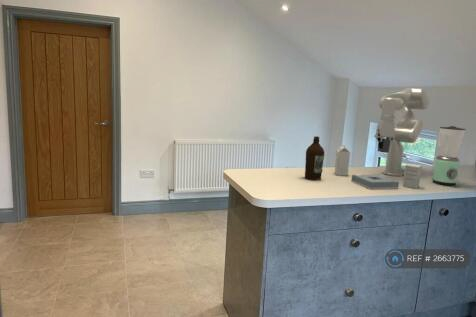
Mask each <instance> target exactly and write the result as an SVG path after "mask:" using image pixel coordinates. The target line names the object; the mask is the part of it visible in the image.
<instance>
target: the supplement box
mask: <svg viewBox="0 0 476 317" xmlns="http://www.w3.org/2000/svg"><path fill="white" fill-rule="evenodd" d="M422 167H423V165H421V164H413V163H407V164H406V165H405V167H404V169H405V172H404V174H403V180H402V181H403V183H402V187H405V188H408V189H409V188H410V189H414V190H415V189H418V188H420V183H421V177H422V176H421V175H422Z"/></svg>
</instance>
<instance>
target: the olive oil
mask: <svg viewBox="0 0 476 317" xmlns="http://www.w3.org/2000/svg"><path fill="white" fill-rule="evenodd" d="M312 142H313V143H311V144H310V145H309V146H308V147H307V148H306V150H305V164H304V166H305V169H304V178H305V179H307V180H310V181H320V180H322V173H323V167H324V166H323V165H324V159H325V150H324V148H323V146H322V145H321V144H320V136H318V135H317V136H315V135H314V136H313V141H312Z"/></svg>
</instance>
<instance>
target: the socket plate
mask: <svg viewBox="0 0 476 317" xmlns="http://www.w3.org/2000/svg"><path fill="white" fill-rule="evenodd" d="M351 182H352V183H354V184H356V185H359V186H362V187H364V188H366V189H368V190H398V189H399V187H400V186H399V185H400V182H399V181H398V180H395V179H393V178H389V177H386V176H383V175H380V174H359V173H358V174H357V173H355V174H352V175H351Z"/></svg>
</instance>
